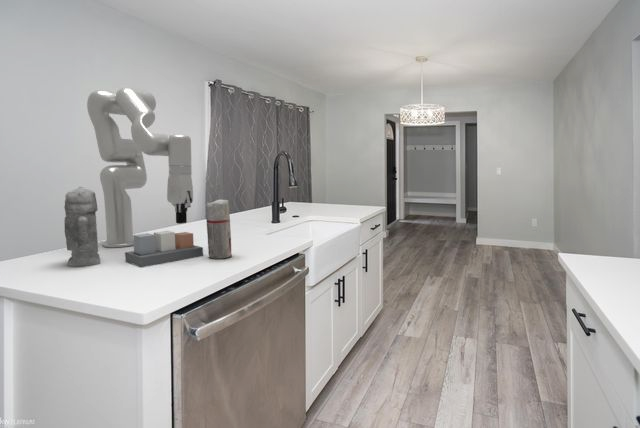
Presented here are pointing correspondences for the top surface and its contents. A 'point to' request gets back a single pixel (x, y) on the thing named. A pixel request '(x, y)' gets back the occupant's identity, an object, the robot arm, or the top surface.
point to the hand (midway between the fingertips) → (181, 222)
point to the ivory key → (165, 241)
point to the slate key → (144, 244)
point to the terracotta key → (184, 240)
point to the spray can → (218, 229)
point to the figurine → (81, 227)
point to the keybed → (163, 256)
